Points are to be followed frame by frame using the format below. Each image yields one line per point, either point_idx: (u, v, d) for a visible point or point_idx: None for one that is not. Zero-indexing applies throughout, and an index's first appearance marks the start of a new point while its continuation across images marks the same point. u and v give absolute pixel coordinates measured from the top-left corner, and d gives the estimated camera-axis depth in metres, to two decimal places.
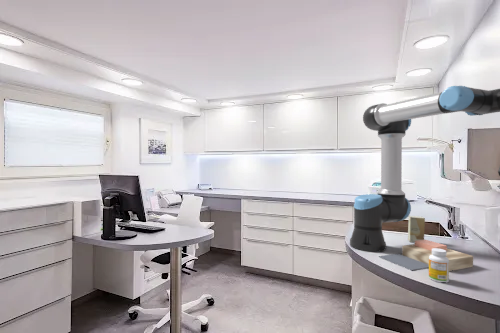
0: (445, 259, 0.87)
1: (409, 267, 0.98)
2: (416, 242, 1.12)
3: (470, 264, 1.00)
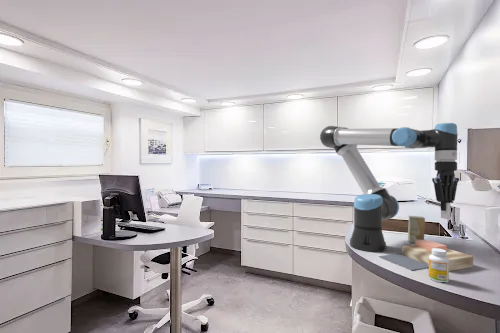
0: (445, 259, 0.87)
1: (409, 267, 0.98)
2: (416, 242, 1.12)
3: (470, 264, 1.00)
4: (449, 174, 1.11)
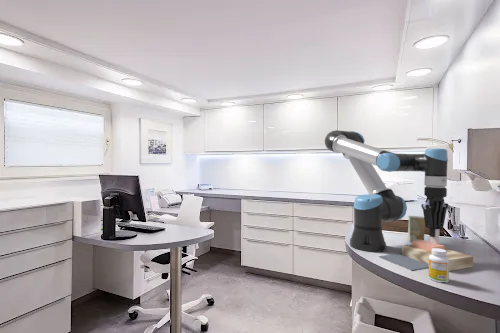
0: (445, 259, 0.87)
1: (409, 267, 0.98)
2: (414, 242, 1.12)
3: (470, 264, 1.00)
4: (438, 200, 1.10)
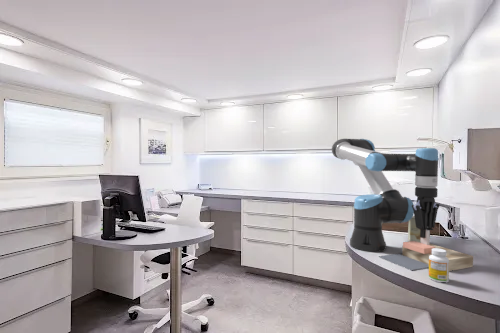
0: (445, 259, 0.87)
1: (409, 267, 0.98)
2: (404, 243, 1.10)
3: (470, 264, 1.00)
4: (429, 200, 1.08)
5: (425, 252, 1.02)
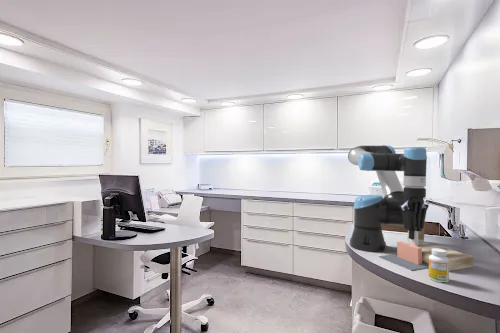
0: (445, 259, 0.87)
1: (409, 267, 0.98)
2: None
3: (470, 264, 1.00)
4: (418, 201, 1.06)
5: (421, 262, 1.02)
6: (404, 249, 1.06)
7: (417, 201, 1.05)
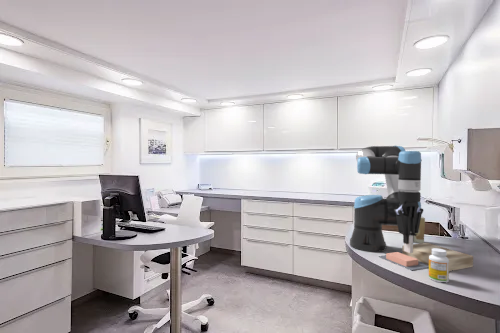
0: (445, 259, 0.87)
1: (409, 267, 0.98)
2: None
3: (470, 264, 1.00)
4: (412, 205, 1.05)
5: (416, 260, 1.01)
6: None
7: (412, 205, 1.05)
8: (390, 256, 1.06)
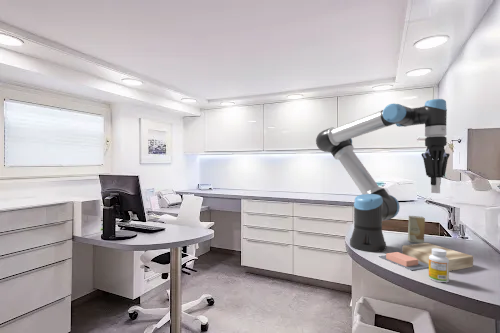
0: (445, 259, 0.87)
1: (409, 267, 0.98)
2: None
3: (470, 264, 1.00)
4: (439, 149, 1.14)
5: (416, 260, 1.01)
6: None
7: (438, 149, 1.14)
8: (390, 256, 1.06)
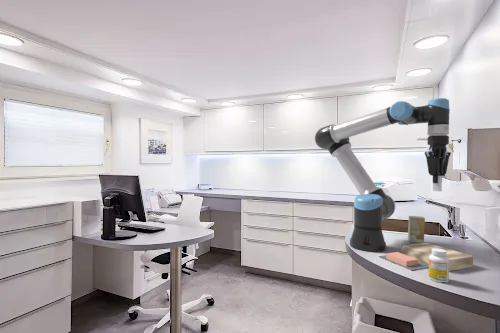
0: (445, 259, 0.87)
1: (409, 267, 0.98)
2: None
3: (470, 264, 1.00)
4: (441, 148, 1.15)
5: (416, 260, 1.01)
6: None
7: (440, 148, 1.15)
8: (390, 256, 1.06)
